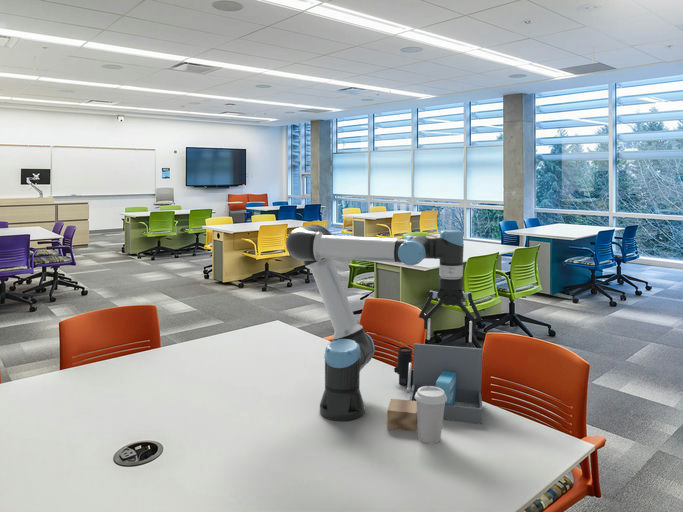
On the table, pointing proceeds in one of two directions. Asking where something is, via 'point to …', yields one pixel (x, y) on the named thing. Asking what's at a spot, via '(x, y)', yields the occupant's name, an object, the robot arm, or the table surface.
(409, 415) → the stand
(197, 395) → the table surface
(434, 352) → the case
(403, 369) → the scope
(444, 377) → the light blue box
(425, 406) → the coffee cup
